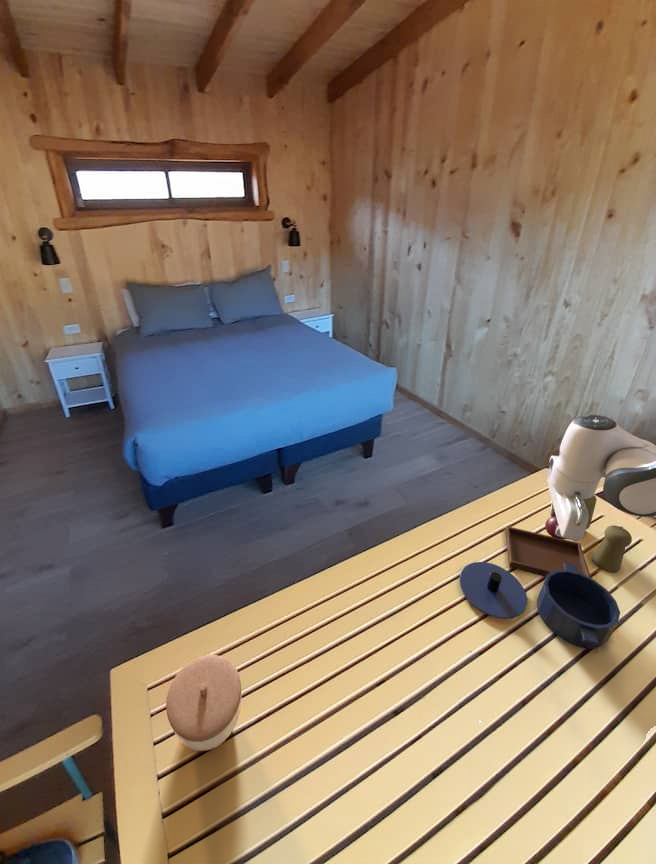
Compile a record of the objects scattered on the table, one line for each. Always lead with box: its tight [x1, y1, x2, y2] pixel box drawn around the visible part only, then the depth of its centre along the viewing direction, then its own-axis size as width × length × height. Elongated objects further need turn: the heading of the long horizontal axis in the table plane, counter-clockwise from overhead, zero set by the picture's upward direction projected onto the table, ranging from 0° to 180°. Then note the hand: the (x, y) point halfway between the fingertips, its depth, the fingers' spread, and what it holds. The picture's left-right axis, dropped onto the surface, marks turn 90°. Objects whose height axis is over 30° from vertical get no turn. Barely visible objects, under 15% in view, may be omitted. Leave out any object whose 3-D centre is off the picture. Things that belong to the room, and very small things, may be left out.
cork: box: [590, 525, 633, 574], centre depth 98 cm, size 6×6×11 cm
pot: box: [536, 562, 621, 650], centre depth 87 cm, size 13×19×7 cm
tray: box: [504, 525, 592, 578], centre depth 101 cm, size 17×12×2 cm
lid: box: [459, 561, 528, 620], centre depth 93 cm, size 14×14×5 cm
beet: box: [544, 516, 565, 540], centre depth 97 cm, size 5×5×6 cm
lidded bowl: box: [165, 654, 242, 752], centre depth 70 cm, size 13×13×11 cm
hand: (556, 524), depth 97 cm, fingers closed on beet, 5 cm apart
